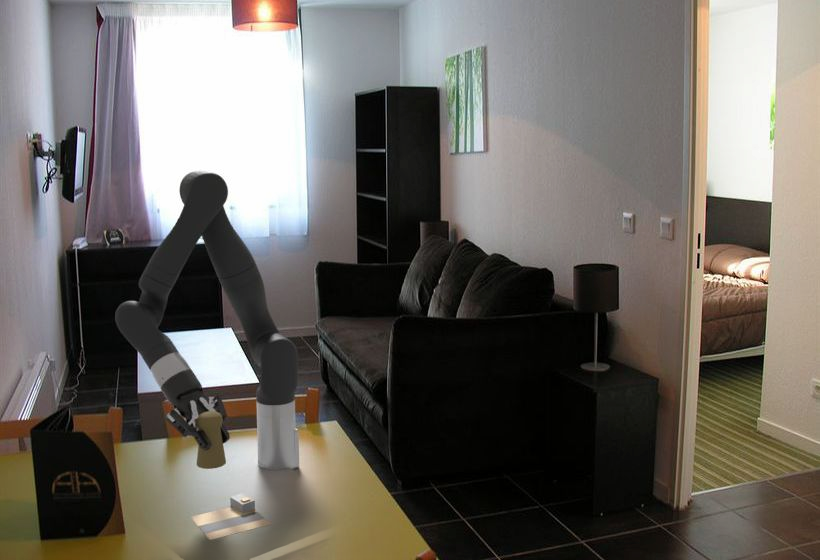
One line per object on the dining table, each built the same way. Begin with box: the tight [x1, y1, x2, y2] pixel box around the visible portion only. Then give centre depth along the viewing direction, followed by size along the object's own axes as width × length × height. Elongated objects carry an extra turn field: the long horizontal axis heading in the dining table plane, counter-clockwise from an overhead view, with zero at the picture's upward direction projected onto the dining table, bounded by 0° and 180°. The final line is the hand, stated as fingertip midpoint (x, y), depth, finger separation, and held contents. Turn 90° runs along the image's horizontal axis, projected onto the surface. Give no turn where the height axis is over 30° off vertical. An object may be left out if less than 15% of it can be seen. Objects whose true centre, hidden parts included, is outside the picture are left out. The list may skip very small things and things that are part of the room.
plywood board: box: [190, 506, 272, 541], centre depth 173 cm, size 13×12×1 cm
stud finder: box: [229, 492, 256, 513], centre depth 179 cm, size 3×5×2 cm, turn 42°
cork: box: [196, 411, 227, 470], centre depth 174 cm, size 6×6×11 cm
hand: (217, 444), depth 173 cm, fingers closed on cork, 4 cm apart
